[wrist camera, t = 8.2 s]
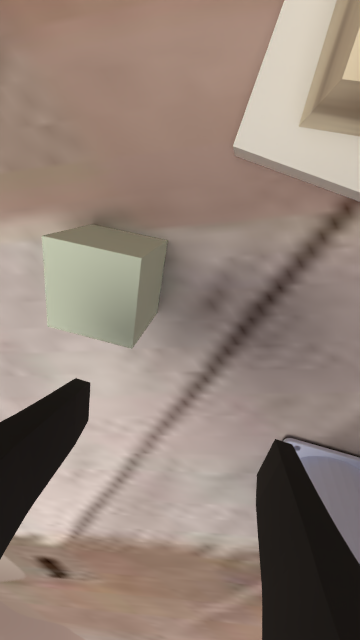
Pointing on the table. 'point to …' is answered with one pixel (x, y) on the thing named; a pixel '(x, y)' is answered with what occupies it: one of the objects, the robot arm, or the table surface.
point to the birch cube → (337, 75)
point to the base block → (296, 107)
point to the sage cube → (102, 282)
